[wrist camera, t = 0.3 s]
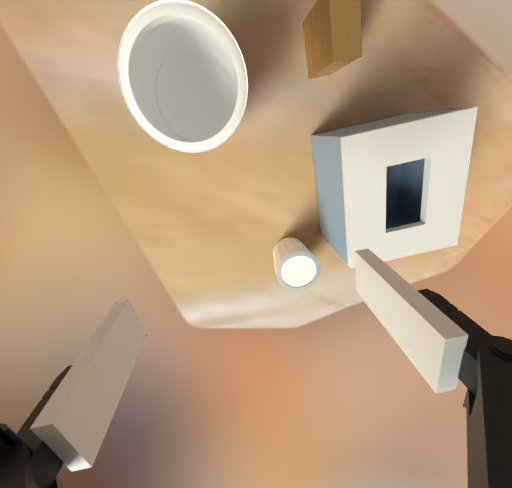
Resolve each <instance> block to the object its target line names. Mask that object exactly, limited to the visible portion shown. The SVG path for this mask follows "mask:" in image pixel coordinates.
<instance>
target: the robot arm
mask: <svg viewBox="0 0 512 488" xmlns="http://www.w3.org/2000/svg"><path fill="white" fill-rule="evenodd" d="M355 272H356V291H357V293H358V294H359V295H360V296H361V298H362V299H363V300H364V302H365V303H366V304H367V305H368V307H369V308H370V309H371V311H372V312H373V313H374V314H375V316H376V317H377V318H378V319H379V321H380V322H381V323H382V325H383V326H384V327H385V328H386V330H387V331H388V332H389V334H390V335H391V336H392V337H393V339H394V340H395V341H396V343H397V344H398V345H399V346H400V348H401V349H402V350H403V352H404V353H405V354H406V355H407V357H408V358H409V359H410V361H411V362H412V363H413V364H414V366H415V367H416V368H417V370H418V371H419V372H420V373H421V375H422V376H423V377H424V378H425V380H426V381H427V382H428V384H429V385H430V386H431V388H432V389H433V390H434V391H435V393H441V392H446V391H450V390H455V389H456V388H457V383H458V379H460V380H461V381H462V382H463V383H464V385H465V386H466V387H467V388H468V389H467V392H466V397H465V400H464V404H463V407H465V408H466V409H467V463H468V488H512V340H510V339H507V338H504V337H499V336H492V335H490V334H489V333H488V332H486V331H485V330H484V329H483V328H481V327H480V326H479V325H478V324H477V323H475V322H474V321H473V320H471V319H470V318H469V317H468V316H466V315H465V314H464V313H462V312H461V311H459V310H458V309H457V308H456V307H455V306H453V305H452V304H450V302H449V301H447V300H446V299H445V298H444V297H442V296H441V295H440V294H437V293H435V292H433V291H431V290H428V289H424V290H419V291H417V290H416V289H415V288H414V287H412V286H411V285H410V284H409V283H408V282H407V281H405V280H404V279H403V278H402V277H401V276H400V275H398V274H397V273H396V272H395V271H394V270H393V269H391V268H390V267H389V266H388V265H387V264H386V263H385V262H383V261H382V260H381V259H380V258H379V257H378V256H376V255H375V254H374V253H373V252H372V251H371V250H369V249H363V250H358V251H355ZM146 336H147V335H146V333H145V331H144V329H143V327H142V325H141V323H140V321H139V319H138V317H137V315H136V313H135V311H134V309H133V307H132V306H131V304H130V301H129V300H124V301H119V302H115V304H114V305H113V306H112V308H111V309H110V311H109V313H108V314H107V315H106V317H105V318H104V320H103V321H102V323H101V324H100V326H99V327H98V329H97V330H96V332H95V333H94V335H93V336H92V337H91V339H90V340H89V342H88V343H87V345H86V346H85V348H84V349H83V351H82V352H81V354H80V355H79V357H78V358H77V359H76V361H75V362H74V364H73V365H71V366H68V367H67V368H66V369H65V370H64V371H63V372H62V373H61V374H60V375H59V376H58V377H57V378H56V379H55V381H54V382H53V384H52V385H51V386H50V388H49V391H47V392H46V393H45V395H44V396H43V398H42V400H41V401H40V402H39V403H38V404H37V406H36V407H35V409H34V410H33V412H32V413H31V414H30V416H29V417H28V419H27V420H26V422H25V423H24V424H23V426H22V427H21V428H20V430H19V432H18V433H17V434H16V433H15V432H14V431H13V430H11V429H10V428H9V427H8V426H7V425H6V424H0V488H63V482H62V479H61V477H60V476H59V475H58V473H59V471H60V469H61V467H62V465H63V463H64V464H65V465H66V466H67V467H68V468H69V469H70V470H71V471H76V470H81V469H85V468H90V467H92V465H93V463H94V460H95V458H96V456H97V453H98V451H99V448H100V446H101V443H102V441H103V439H104V436H105V434H106V432H107V429H108V427H109V424H110V422H111V419H112V417H113V415H114V412H115V410H116V407H117V405H118V403H119V400H120V398H121V396H122V393H123V391H124V388H125V386H126V384H127V381H128V378H129V376H130V374H131V372H132V369H133V367H134V364H135V362H136V360H137V357H138V355H139V352H140V350H141V347H142V345H143V343H144V340H145V338H146Z"/></svg>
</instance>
